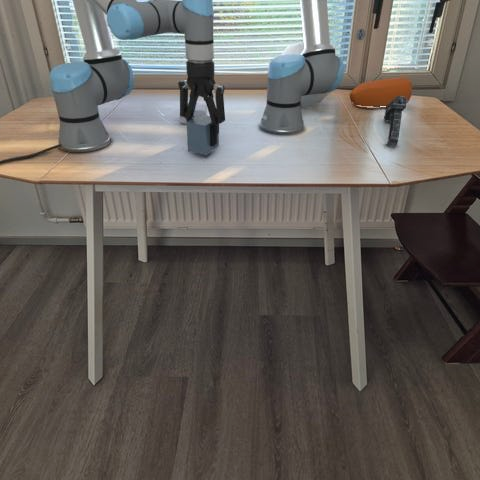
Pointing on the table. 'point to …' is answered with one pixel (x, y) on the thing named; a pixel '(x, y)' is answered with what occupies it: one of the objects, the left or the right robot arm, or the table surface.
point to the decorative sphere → (306, 99)
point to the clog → (381, 92)
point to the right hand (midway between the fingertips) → (402, 30)
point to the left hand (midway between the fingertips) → (203, 142)
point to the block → (200, 135)
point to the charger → (196, 112)
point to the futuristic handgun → (395, 118)
